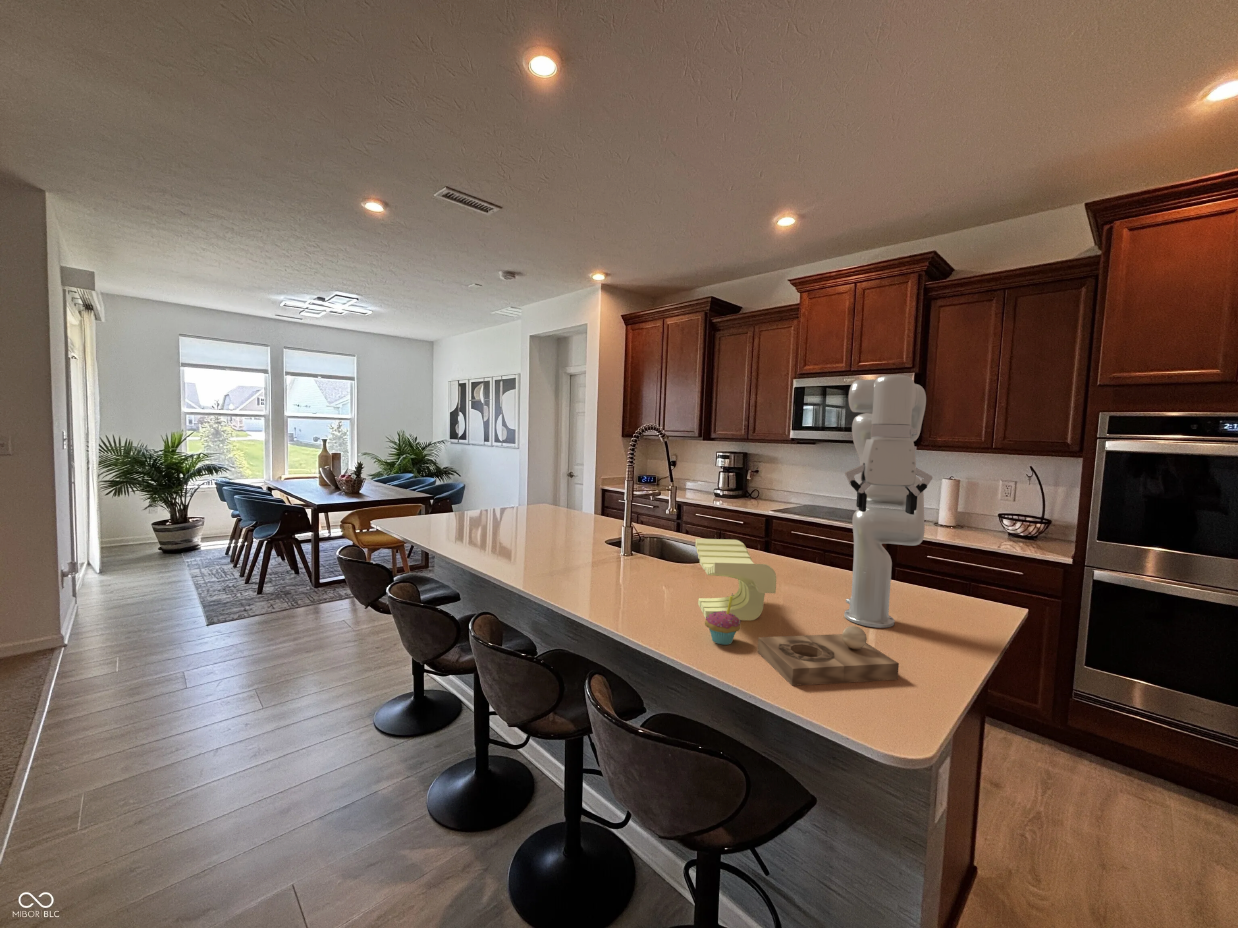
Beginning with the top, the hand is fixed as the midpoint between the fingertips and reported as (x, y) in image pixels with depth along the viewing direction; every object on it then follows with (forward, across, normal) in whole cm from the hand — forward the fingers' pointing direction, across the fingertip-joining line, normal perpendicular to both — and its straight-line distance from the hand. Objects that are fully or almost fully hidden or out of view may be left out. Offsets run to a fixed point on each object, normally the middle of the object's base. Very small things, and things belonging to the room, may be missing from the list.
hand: (885, 512), depth 112 cm
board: (+35, +11, +2) cm, 36 cm away
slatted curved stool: (+34, +31, -29) cm, 54 cm away
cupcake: (+35, +33, -6) cm, 49 cm away
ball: (+28, +5, -1) cm, 29 cm away
